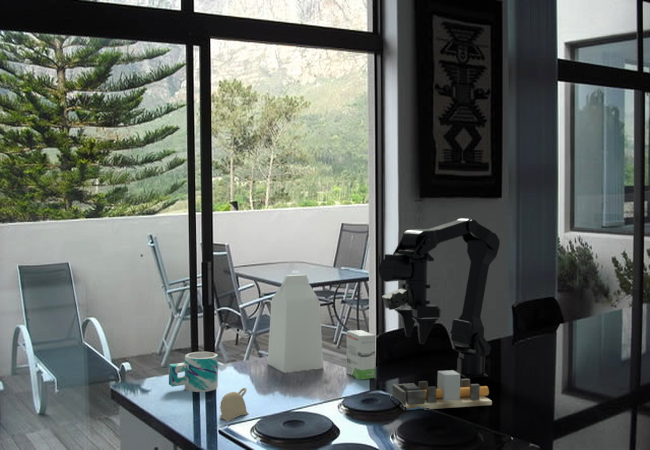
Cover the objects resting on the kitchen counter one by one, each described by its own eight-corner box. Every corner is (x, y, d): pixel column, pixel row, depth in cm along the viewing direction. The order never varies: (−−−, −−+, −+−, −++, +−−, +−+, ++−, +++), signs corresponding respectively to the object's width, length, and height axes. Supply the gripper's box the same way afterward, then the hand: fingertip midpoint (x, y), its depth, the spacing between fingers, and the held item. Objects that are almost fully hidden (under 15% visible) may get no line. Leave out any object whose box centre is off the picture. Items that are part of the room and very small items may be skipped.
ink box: (375, 378, 196) (376, 334, 196) (359, 380, 194) (360, 336, 194) (361, 371, 204) (361, 329, 204) (345, 372, 202) (345, 330, 201)
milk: (284, 372, 201) (285, 278, 200) (267, 363, 211) (268, 273, 210) (323, 368, 206) (324, 276, 205) (305, 360, 217) (306, 272, 215)
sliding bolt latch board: (474, 394, 182) (474, 376, 181) (491, 404, 173) (492, 386, 173) (390, 399, 176) (390, 381, 176) (404, 410, 167) (404, 391, 167)
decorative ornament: (214, 418, 160) (214, 394, 160) (241, 409, 167) (241, 386, 167) (227, 422, 158) (227, 397, 157) (254, 413, 164) (254, 389, 164)
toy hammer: (482, 393, 179) (483, 368, 179) (490, 397, 176) (491, 372, 175) (402, 398, 174) (402, 373, 174) (408, 402, 170) (408, 377, 170)
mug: (222, 389, 183) (222, 356, 183) (176, 396, 177) (176, 361, 177) (209, 381, 190) (209, 350, 190) (164, 388, 184) (164, 355, 184)
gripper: (374, 275, 194) (373, 334, 195) (399, 284, 176) (398, 349, 177) (413, 275, 197) (412, 333, 197) (442, 283, 179) (440, 347, 179)
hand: (414, 340), depth 188 cm, fingers open, 9 cm apart
